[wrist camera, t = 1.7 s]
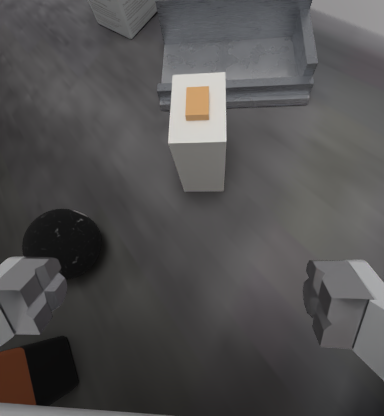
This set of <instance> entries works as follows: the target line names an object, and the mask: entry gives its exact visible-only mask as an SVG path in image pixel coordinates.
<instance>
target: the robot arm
mask: <svg viewBox="0 0 384 416" xmlns="http://www.w3.org/2000/svg"><path fill="white" fill-rule="evenodd" d="M60 269H61V265H60V263H59V260H58V259H56V258H52V257H10V258H7V259H6V260H5V261H4V262H3V263H2V264H0V346H2V345H3V344H4V343H6V342H7V341H8V340H10V339H11V338H12V337H14V334H30V335H40V334H41V333H42V331H43V330H44V329H45V327H46V326H47V324H48V323H49V321H50V320H51V319H52V317H53V316H52V311H53V310H55V309H56V308H58V307H59V306H61V304H62V302H63V301H64V299H65V297H66V293H67V282H66V279H65V277H63V276H62V275H61V274H60V273H59V271H60ZM306 272H307V274H308V277H309V278H308V279H307V280H306V281H305V282H304V287H303V300H304V304H305V308H306V311H307V314H309V315H310V316H311V317H312V318H313V319H314V320H313V325H312V327H313V330H314V332H315V335H316V337H317V340H318V343H319V345H320V347H328V348H342V349H353V351H354V352H355V353H356V354H357V355H358V356H359V357H360V358H361V359H362V360H363V361H364V362H365V363H366V364H367V365H368V366H369V367H370V368H371V369H372V370H373V371H374V372H375V373H376V374H377V375H378V376H379V377H380V378H381V379H383V380H384V283H383V281H382V280H381V279H380V278H379V276H378V275H377V274H376V273H375V271H374V270H373V269H372V268H371V267H370V265H369V264H368V263H367V262H366V261H364V260H344V261H343V260H309V262H308V264H307V268H306ZM0 416H173V415H160V414H146V413H133V412H119V411H105V410H92V409H78V408H65V407H51V406H38V405H24V404H11V403H0Z"/></svg>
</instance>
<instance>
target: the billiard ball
mask: <svg viewBox="0 0 384 416" xmlns="http://www.w3.org/2000/svg"><path fill="white" fill-rule="evenodd" d="M100 249H101V235H100V231H99V229H98V227H97V226H96V224H95V223H94V222H93V221H92V220H91V219H90V218H89V217H87V216H86V215H84V214H82V213H80V212H77V211H74V210H69V209H56V210H51V211H48V212H46V213H44V214H42V215H40V216H39V217H38V218H36V219H35V220H34V221H33V222H32V223H31V225H30V226H29V227H28V229H27V231H26V233H25V235H24V238H23V244H22V250H23V255H24V257H52V258H56V259H58V260H59V263H60V265H61V269H60V271H59V273H60V274H61V275H62V276H63V277H65V279H71V278H74V277H77V276H79V275H81V274H83V273H84V272H86V271H87V270H88V269H89V268H90V267H91V266H92V265H93V264H94V262H95V261H96V259H97V257H98V255H99V252H100Z"/></svg>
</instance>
